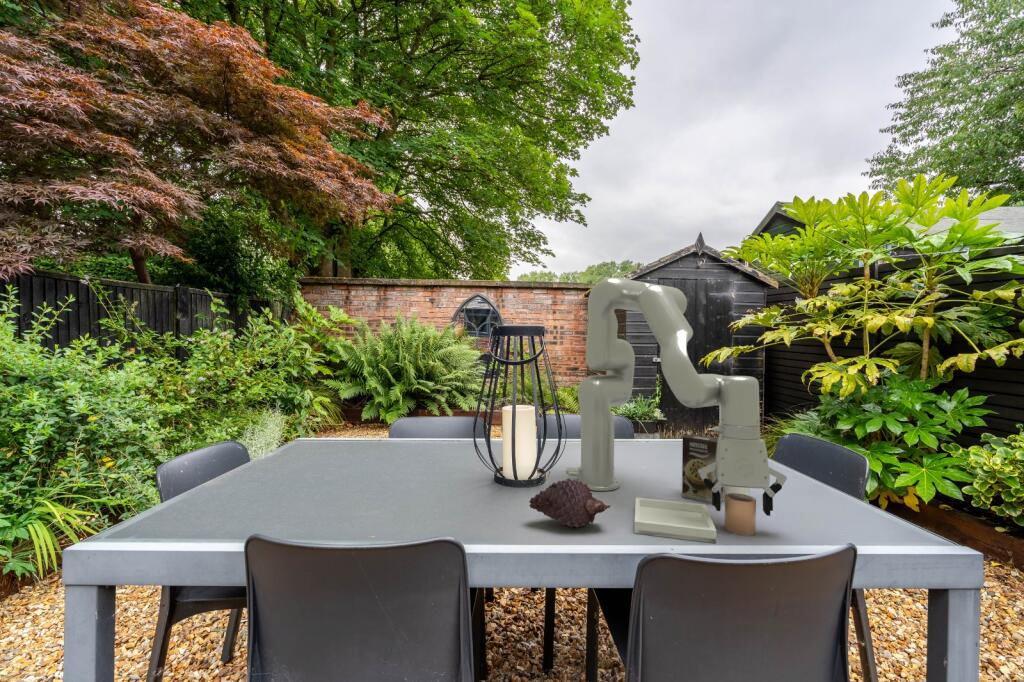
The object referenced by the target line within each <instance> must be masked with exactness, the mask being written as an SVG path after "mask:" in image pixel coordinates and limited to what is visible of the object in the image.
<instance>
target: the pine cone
mask: <svg viewBox="0 0 1024 682" xmlns="http://www.w3.org/2000/svg"><path fill="white" fill-rule="evenodd" d="M528 502H529V503H530V504H529V505H528V506H529V507H530V509H532V510H536V511H537V512H539V513H542V514H544V516H547V517H549V518H550V519H552V520H556V521H560V524H562V525H565V526H568V527H569V528H574V527H575V528H580V527H585V526H586V525H588V524H593V523H594V521H595V519H596V515H598V514H600V513H604V512H605V511H606V510H607V509H609V508H611V506H612V505H611V504H608V505H607V504H605V503H604V502H603V501H602V500H598V499H597V498H594V496H593V493H592V492H591V490H590V488H588V486H587V485H585V484H583V483H582V482H581V481H576V480H575V479H572V480H571V479H570V478H567V479H566V480H558V481H557V482H553V483H552V484H550V485H548V486H547V487H546V488H545V490H540V491H539V493H538V494H535V496H533V497H530V500H529V501H528Z"/></svg>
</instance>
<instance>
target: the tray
mask: <svg viewBox="0 0 1024 682" xmlns="http://www.w3.org/2000/svg"><path fill="white" fill-rule="evenodd" d="M637 533H638V534H639V535H644V536H645V535H647V536H655V537H660V538H661V537H664V538H671V539H677V540H678V539H679V540H686V541H687V540H688V541H695V542H701V543H702V542H703V543H711V544H717V529H716V527H715V523H714V522H713V519H712V517H711V514H710V512H709V509H708V507H707V505H706V504H704V503H694V502H683V501H674V500H665V499H664V500H663V499H653V498H646V497H645V498H643V497H635V507H634V534H637Z"/></svg>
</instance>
